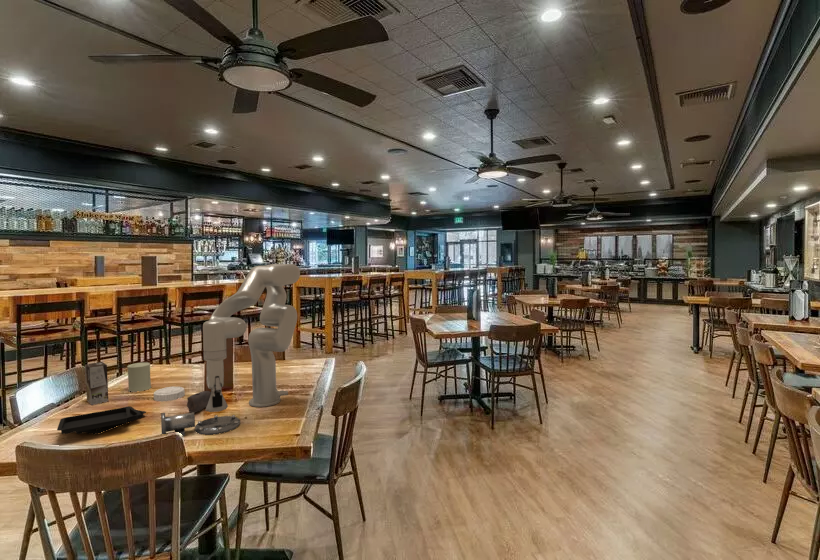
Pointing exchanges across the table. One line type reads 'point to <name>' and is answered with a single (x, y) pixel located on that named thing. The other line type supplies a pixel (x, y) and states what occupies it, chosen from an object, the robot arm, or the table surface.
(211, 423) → the pipe fitting
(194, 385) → the table surface
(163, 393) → the mooncake
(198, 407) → the perforated stone tool
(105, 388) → the coffee box
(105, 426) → the tray
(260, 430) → the table surface
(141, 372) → the can
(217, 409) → the flask
